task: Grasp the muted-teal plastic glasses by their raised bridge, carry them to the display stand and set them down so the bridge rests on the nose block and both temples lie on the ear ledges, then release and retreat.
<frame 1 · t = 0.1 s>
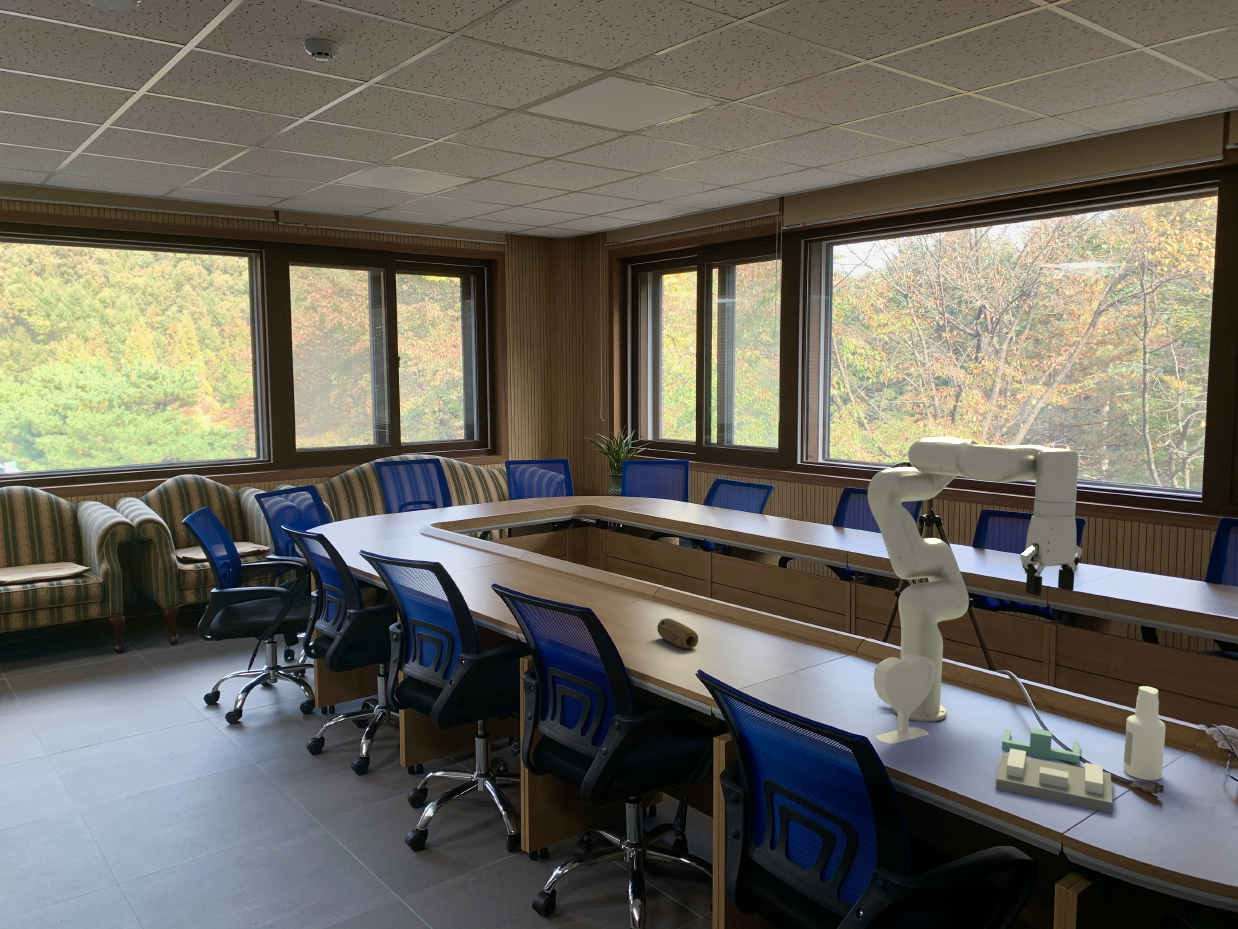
hand: (1049, 592, 180), 37 cm above the table, tool pointing down, fingers open, 9 cm apart
teal glasses: (1039, 754, 189), on the table
stone weight: (677, 645, 265), on the table
heart sculpture: (902, 735, 199), on the table
white bottle: (1142, 774, 181), on the table
display stand: (1053, 785, 175), on the table
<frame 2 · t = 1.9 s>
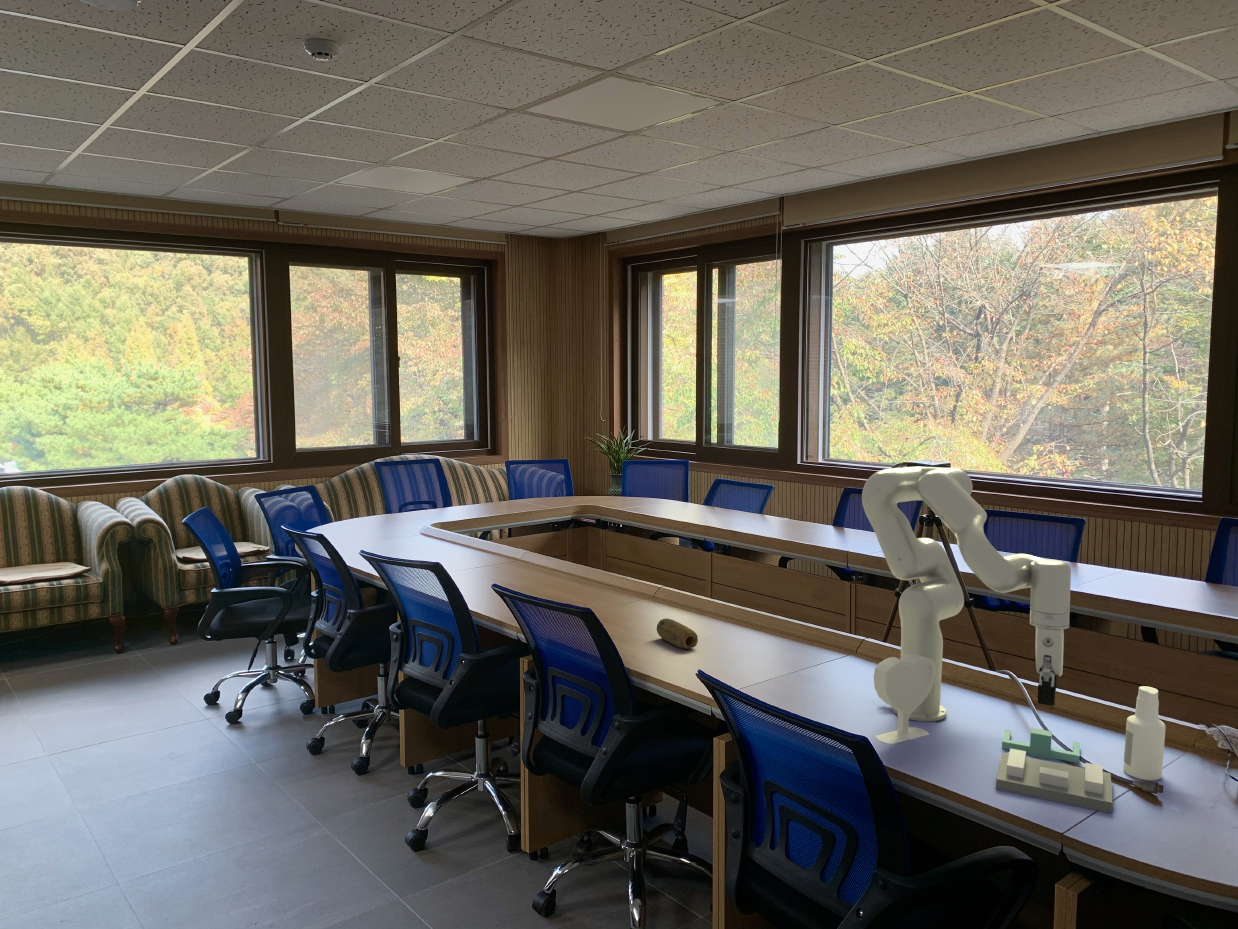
hand: (1046, 697, 188), 13 cm above the table, tool pointing down, fingers open, 9 cm apart
nothing on the table moved.
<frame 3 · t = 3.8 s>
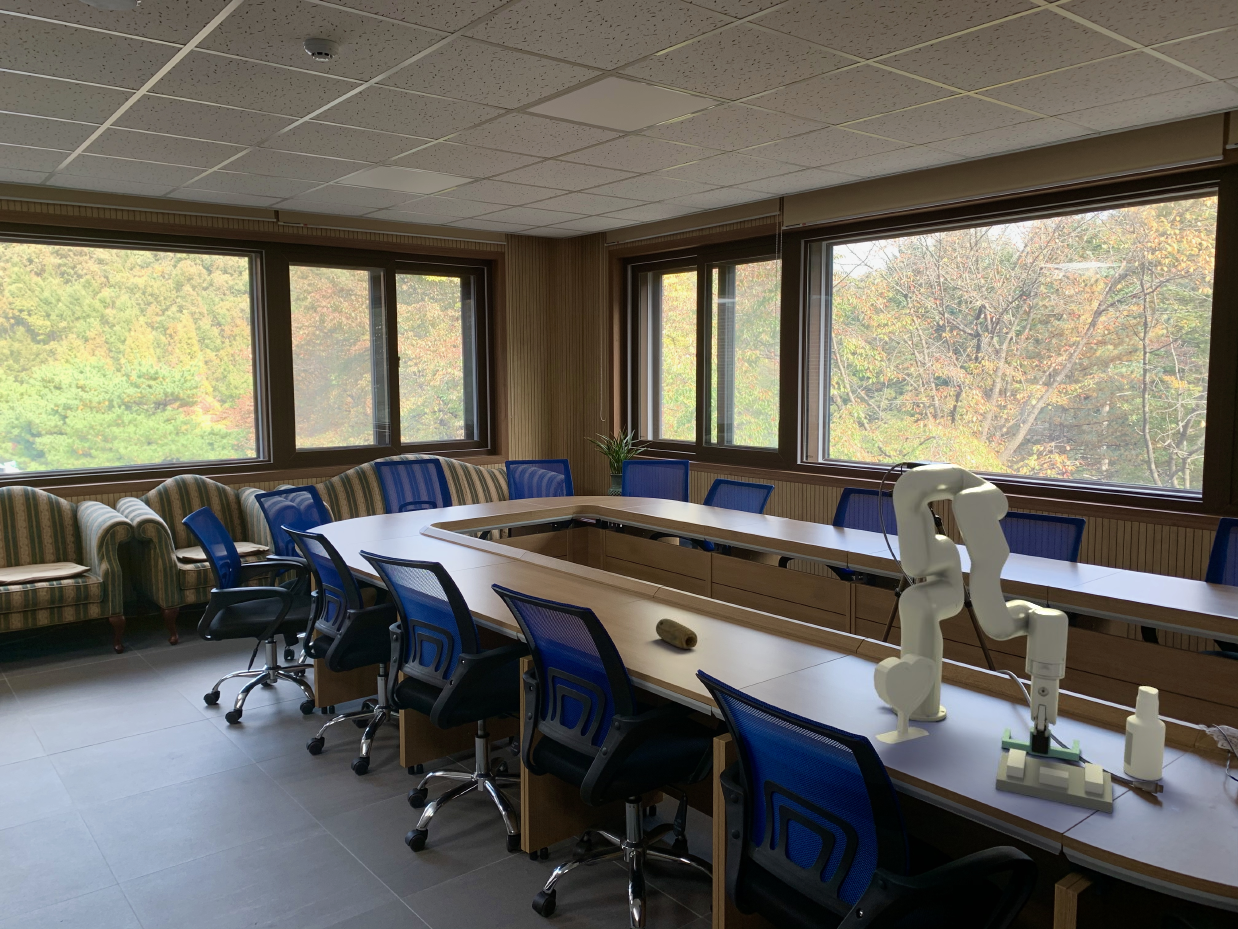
hand: (1040, 749, 189), 1 cm above the table, tool pointing down, fingers closed on teal glasses, 2 cm apart
teal glasses: (1039, 752, 190), on the table, touching gripper
everything else where it was.
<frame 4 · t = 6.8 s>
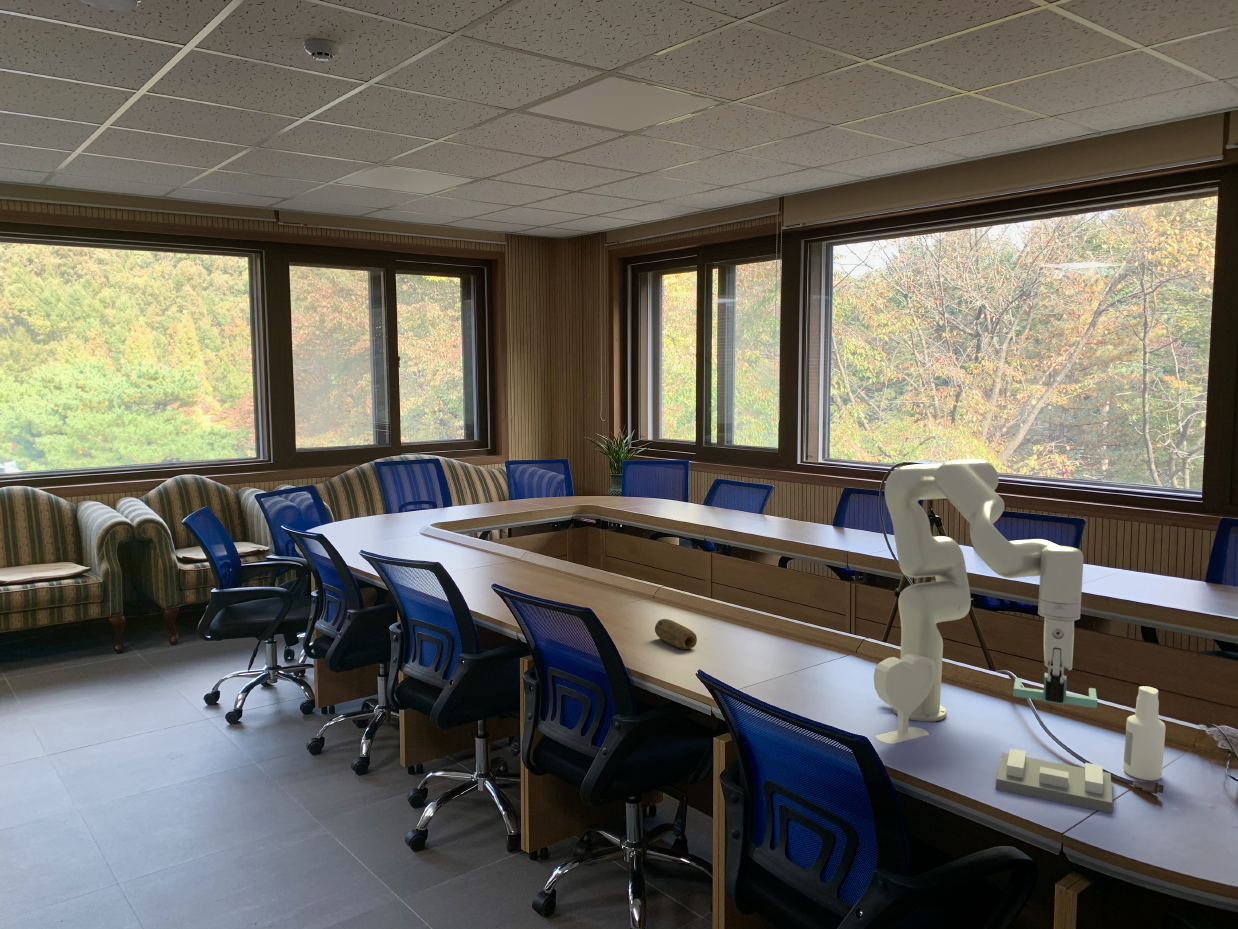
hand: (1054, 697, 176), 17 cm above the table, tool pointing down, fingers closed on teal glasses, 2 cm apart
teal glasses: (1054, 700, 176), point 16 cm above the table, touching gripper
everything else where it was.
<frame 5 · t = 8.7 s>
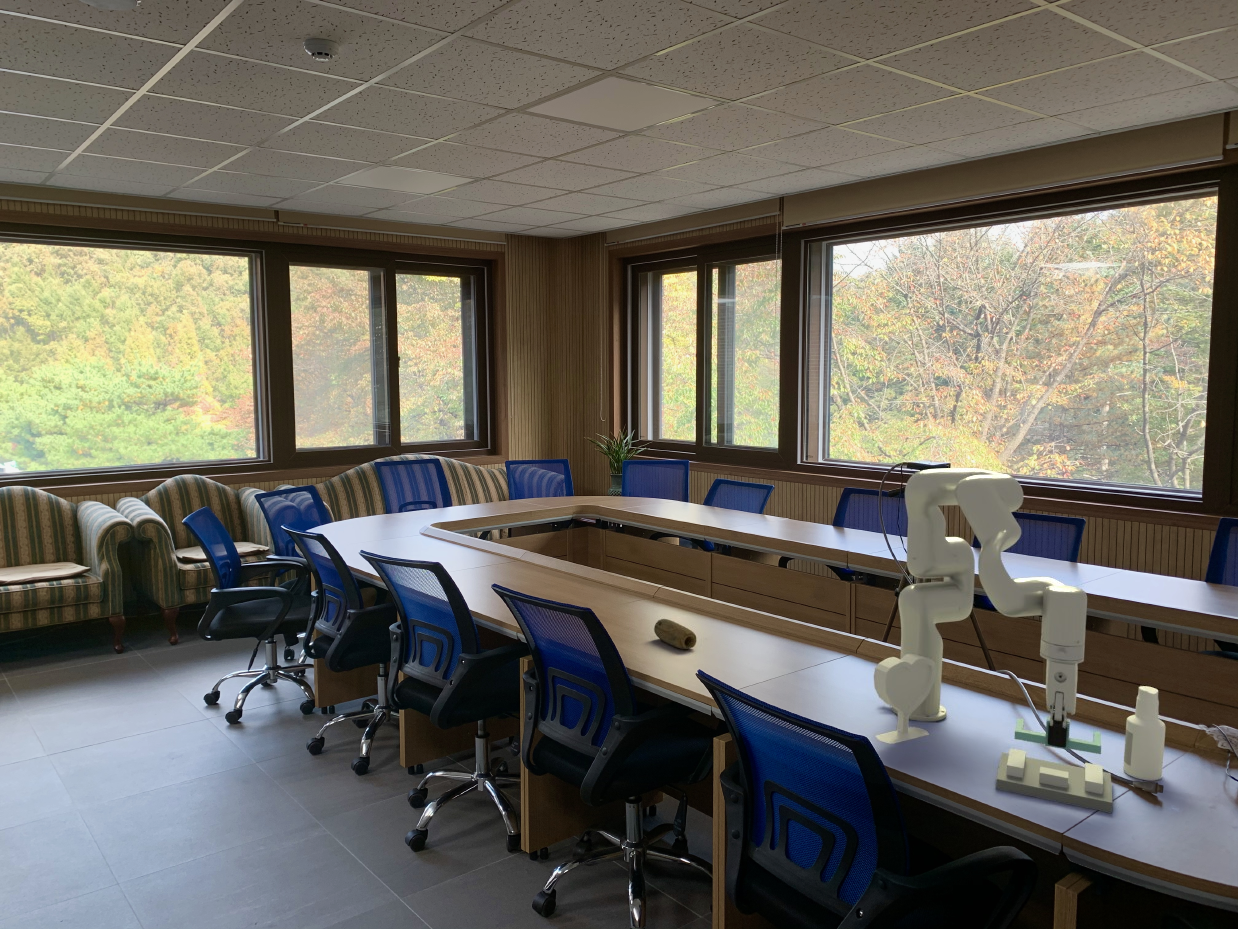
hand: (1056, 741, 171), 10 cm above the table, tool pointing down, fingers closed on teal glasses, 2 cm apart
teal glasses: (1056, 745, 171), point 10 cm above the table, touching gripper
when the fingers open (6 cm above the table, at t = 10.1 s): teal glasses drops 2 cm, resting on display stand.
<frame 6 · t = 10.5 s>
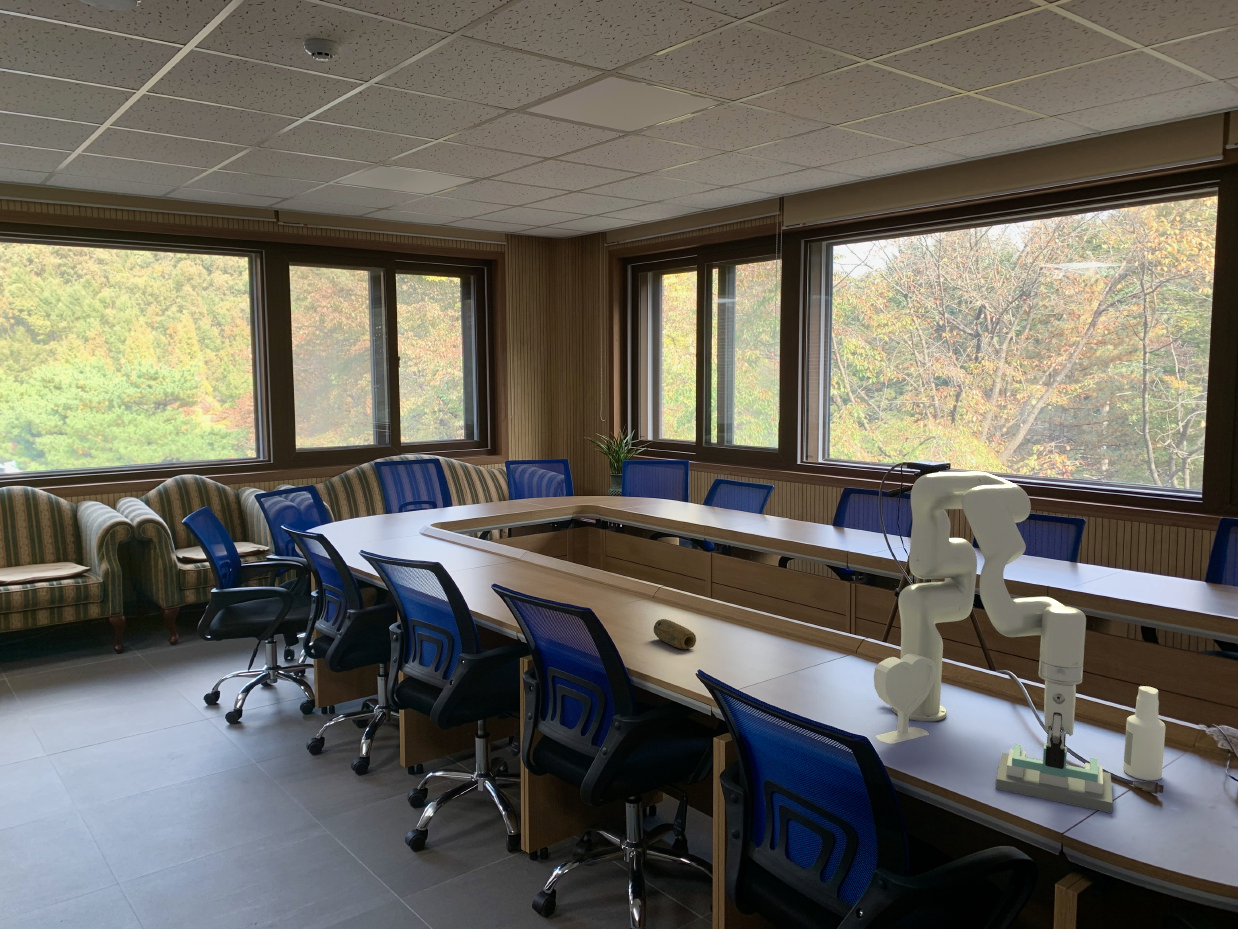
hand: (1054, 758, 172), 7 cm above the table, tool pointing down, fingers open, 7 cm apart
teal glasses: (1053, 772, 172), point 4 cm above the table, touching display stand
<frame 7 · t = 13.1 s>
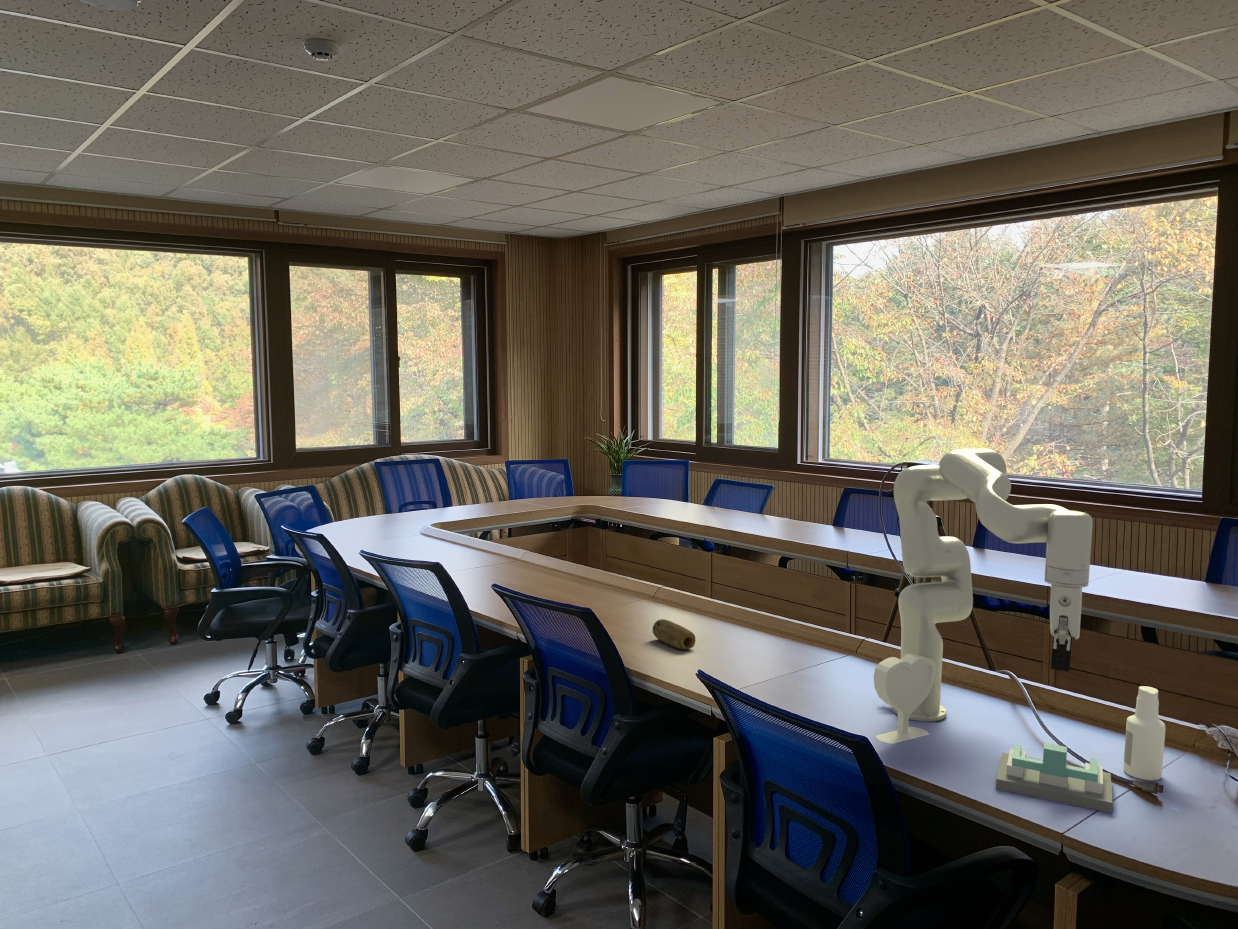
hand: (1060, 662, 170), 26 cm above the table, tool pointing down, fingers open, 9 cm apart
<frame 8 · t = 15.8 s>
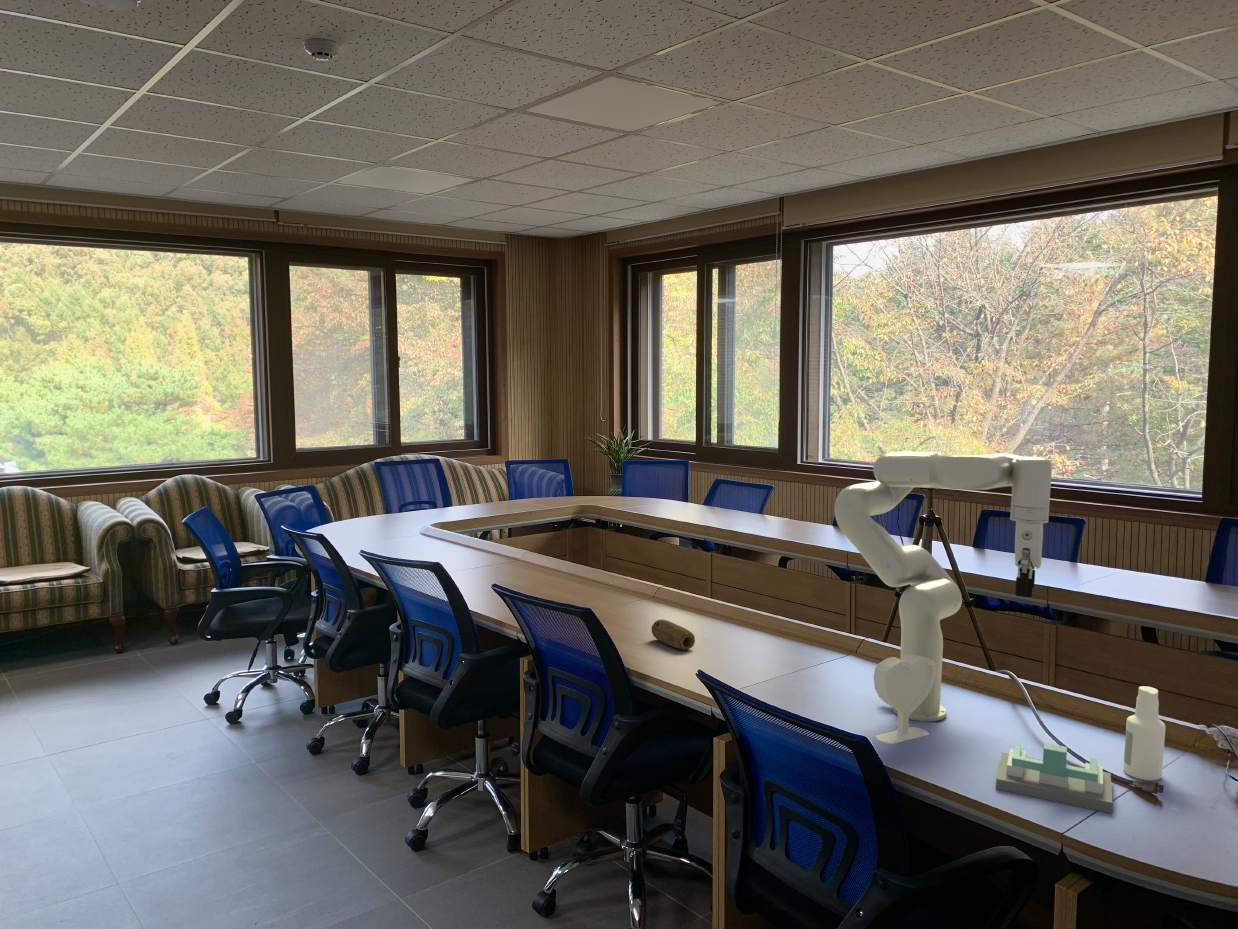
hand: (1024, 591, 192), 34 cm above the table, tool pointing down, fingers open, 9 cm apart
at the end: teal glasses 0.0 cm from the target spot on the display stand, point 4.0 cm above the display stand's base; teal glasses tilted 0°; the gripper is holding nothing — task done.
